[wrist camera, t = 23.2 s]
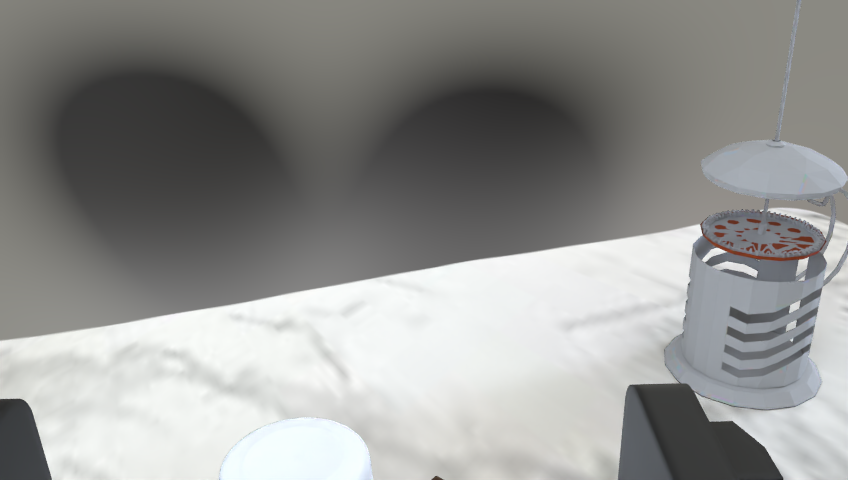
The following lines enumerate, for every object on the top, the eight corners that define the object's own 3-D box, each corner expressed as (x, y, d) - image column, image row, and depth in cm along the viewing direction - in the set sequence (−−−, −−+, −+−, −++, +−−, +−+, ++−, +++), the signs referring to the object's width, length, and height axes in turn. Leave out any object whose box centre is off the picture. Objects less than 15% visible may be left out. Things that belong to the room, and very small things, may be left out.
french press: (634, 343, 55) (670, -33, 45) (768, 312, 59) (830, -44, 49) (729, 424, 47) (799, -17, 37) (879, 382, 50) (982, -31, 40)
